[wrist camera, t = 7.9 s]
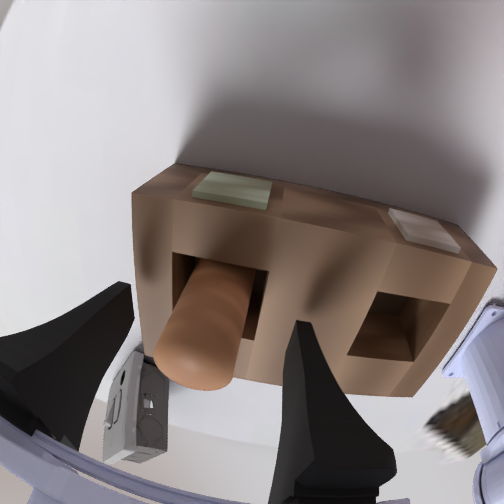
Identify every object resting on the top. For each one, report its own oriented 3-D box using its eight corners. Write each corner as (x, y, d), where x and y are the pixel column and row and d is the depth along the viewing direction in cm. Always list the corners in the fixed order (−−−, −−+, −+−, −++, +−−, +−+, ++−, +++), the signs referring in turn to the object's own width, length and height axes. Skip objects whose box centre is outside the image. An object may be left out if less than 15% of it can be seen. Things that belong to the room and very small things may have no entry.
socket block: (459, 220, 15) (500, 263, 11) (398, 344, 20) (412, 397, 16) (174, 158, 16) (131, 186, 12) (171, 304, 21) (144, 355, 17)
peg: (264, 237, 16) (239, 351, 10) (253, 282, 18) (227, 397, 11) (209, 225, 16) (151, 328, 10) (203, 270, 18) (154, 377, 11)
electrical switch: (136, 344, 24) (102, 438, 16) (188, 370, 26) (168, 464, 18) (111, 382, 29) (85, 455, 21) (152, 402, 30) (134, 475, 22)
